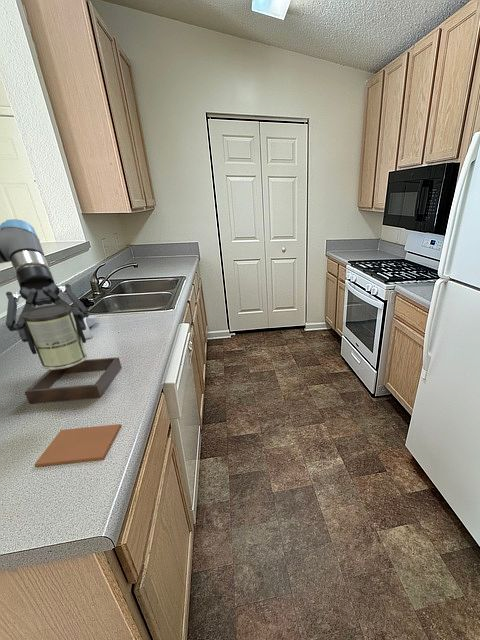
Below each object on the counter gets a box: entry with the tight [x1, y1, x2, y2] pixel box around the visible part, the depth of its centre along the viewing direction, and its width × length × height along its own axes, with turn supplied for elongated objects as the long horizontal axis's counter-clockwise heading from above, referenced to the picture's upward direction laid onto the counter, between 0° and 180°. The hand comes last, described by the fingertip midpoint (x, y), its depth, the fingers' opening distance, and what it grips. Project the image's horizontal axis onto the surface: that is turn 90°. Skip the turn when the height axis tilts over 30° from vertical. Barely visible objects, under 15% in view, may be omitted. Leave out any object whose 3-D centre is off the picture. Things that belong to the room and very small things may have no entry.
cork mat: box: [33, 423, 122, 468], centre depth 78 cm, size 14×12×1 cm
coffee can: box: [20, 304, 88, 370], centre depth 85 cm, size 10×10×14 cm
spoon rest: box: [82, 314, 98, 340], centre depth 144 cm, size 24×12×7 cm, turn 34°
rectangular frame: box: [24, 356, 123, 405], centre depth 103 cm, size 19×19×4 cm
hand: (59, 345), depth 84 cm, fingers closed on coffee can, 10 cm apart
